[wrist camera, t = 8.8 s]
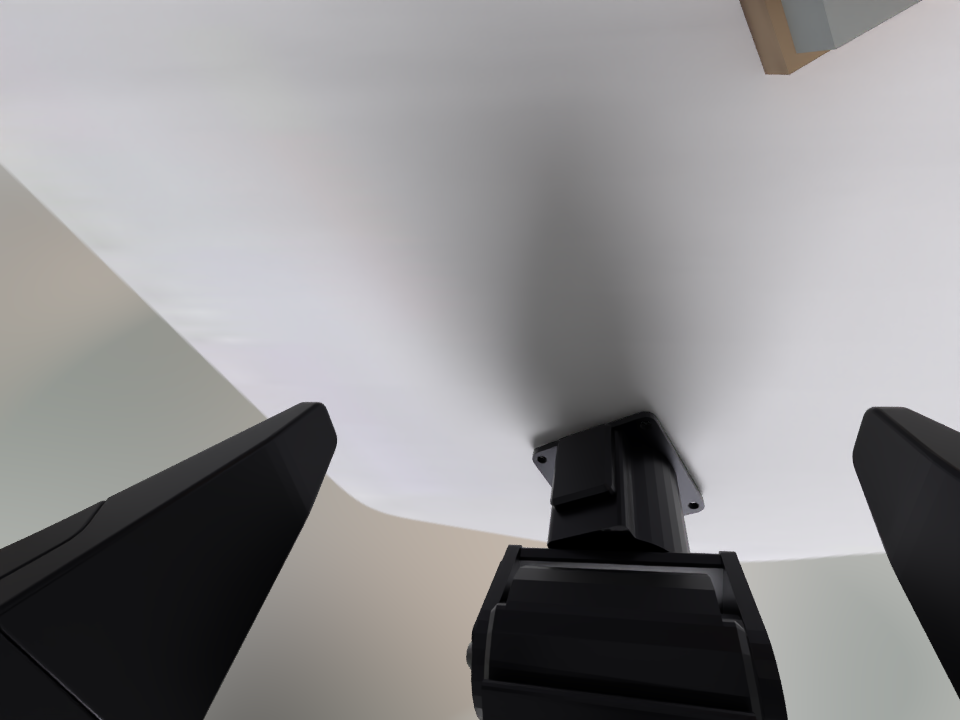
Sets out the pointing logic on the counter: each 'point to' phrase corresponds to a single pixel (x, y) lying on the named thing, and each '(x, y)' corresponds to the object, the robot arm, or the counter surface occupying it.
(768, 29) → the base slab
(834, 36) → the top slab
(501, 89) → the counter surface
